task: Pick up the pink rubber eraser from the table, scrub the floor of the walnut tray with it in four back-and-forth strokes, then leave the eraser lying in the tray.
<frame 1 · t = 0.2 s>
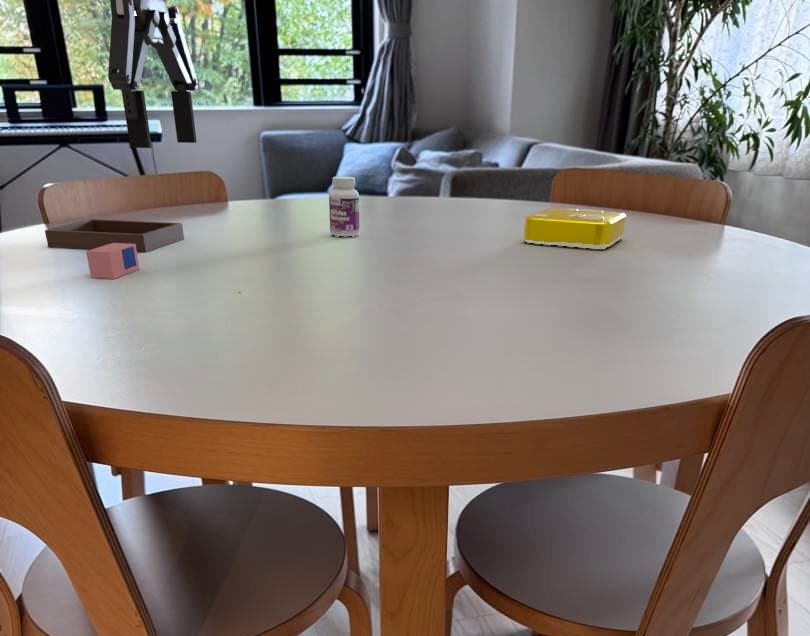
hand: (165, 145, 105), 16 cm above the table, tool pointing down, fingers open, 13 cm apart
pill bottle: (345, 236, 137), on the table
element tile: (573, 242, 134), on the table
eraser: (115, 273, 107), on the table
tray: (118, 242, 128), on the table
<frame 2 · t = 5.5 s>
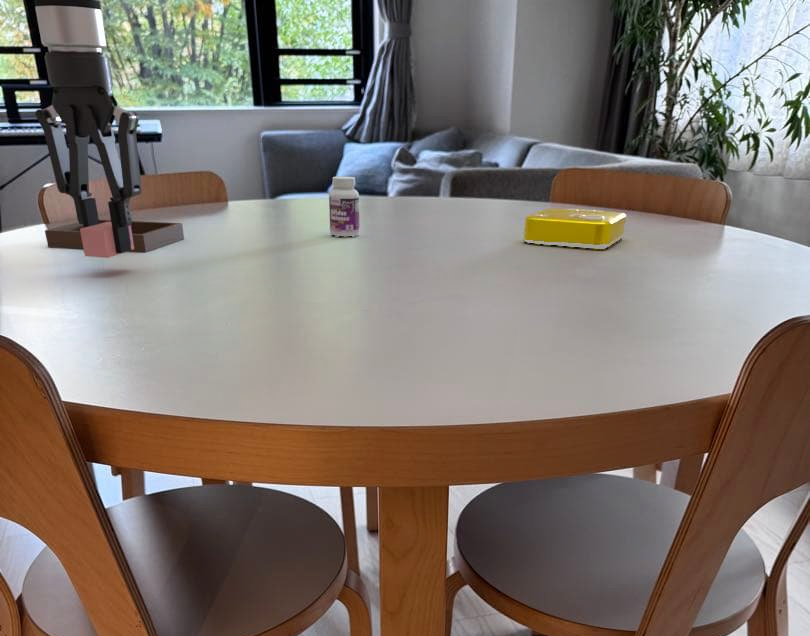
hand: (109, 250, 105), 3 cm above the table, tool pointing down, fingers closed on eraser, 4 cm apart
eraser: (110, 252, 105), point 3 cm above the table, touching gripper
everything else where it was.
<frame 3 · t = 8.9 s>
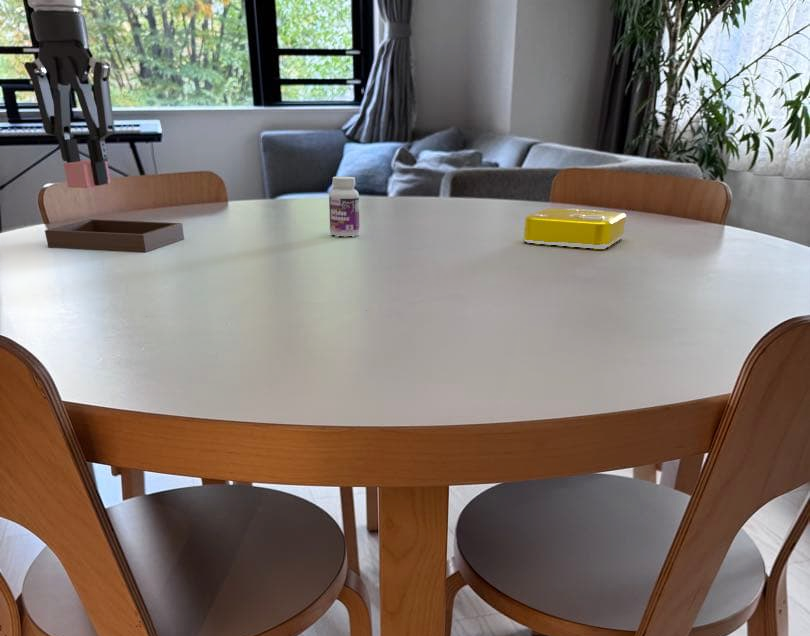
hand: (89, 183, 124), 9 cm above the table, tool pointing down, fingers closed on eraser, 4 cm apart
eraser: (90, 185, 124), point 9 cm above the table, touching gripper
everything else where it was.
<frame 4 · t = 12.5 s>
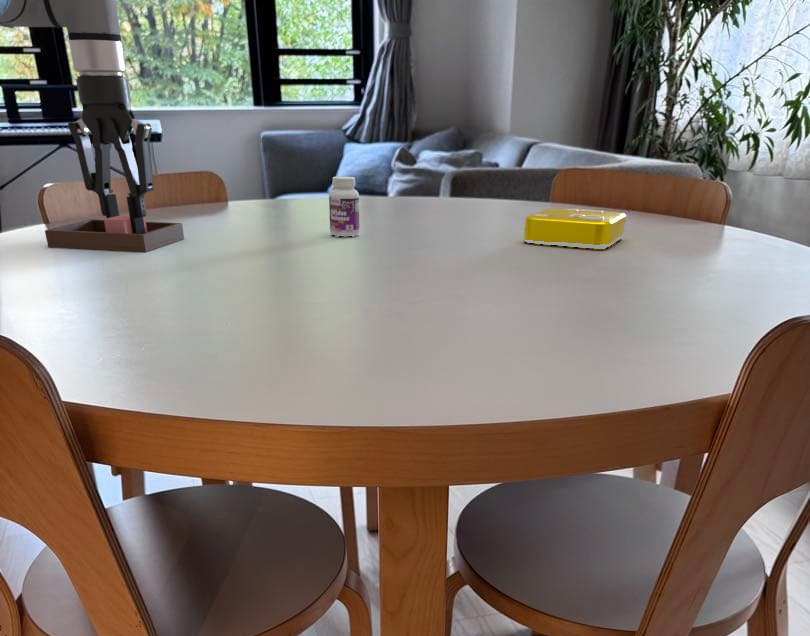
hand: (127, 237, 127), 1 cm above the table, tool pointing down, fingers closed on eraser, 4 cm apart
eraser: (128, 239, 127), point 1 cm above the table, touching gripper
everything else where it was.
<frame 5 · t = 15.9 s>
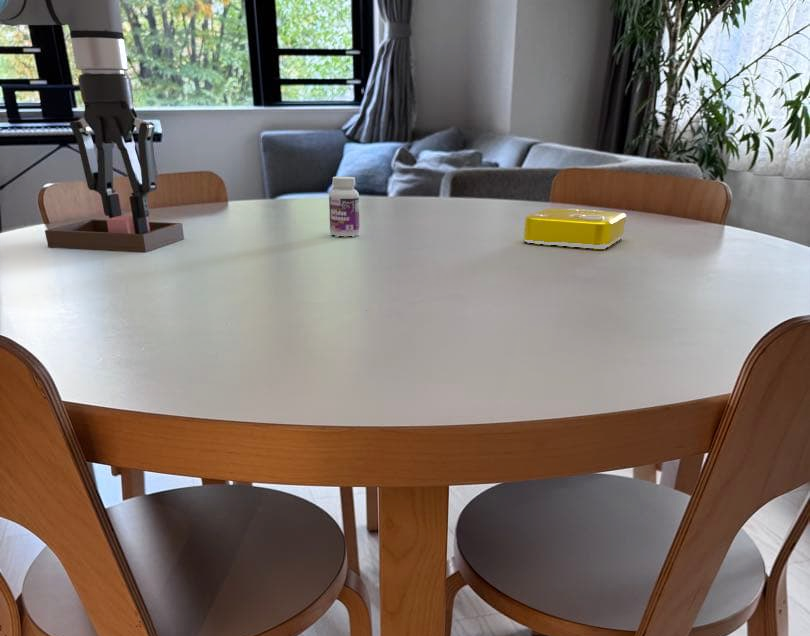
hand: (130, 237, 126), 1 cm above the table, tool pointing down, fingers closed on eraser, 4 cm apart
eraser: (131, 239, 126), point 1 cm above the table, touching gripper
everything else where it was.
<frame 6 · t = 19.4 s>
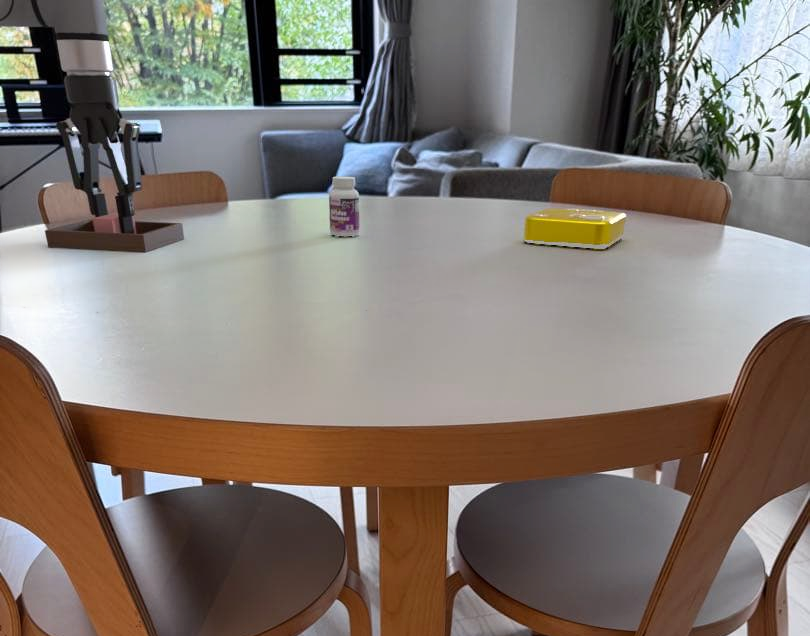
hand: (116, 236, 128), 1 cm above the table, tool pointing down, fingers closed on eraser, 4 cm apart
eraser: (117, 238, 128), point 1 cm above the table, touching gripper
everything else where it was.
when the fingers open (1 cm above the table, at t = 20.9 s): eraser stays where it is, resting on tray.
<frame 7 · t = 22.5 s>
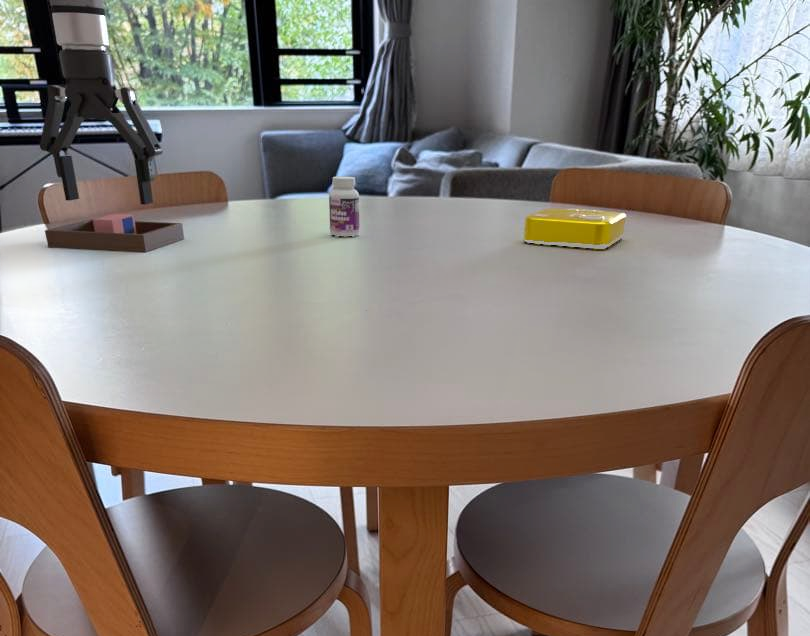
hand: (109, 201, 125), 6 cm above the table, tool pointing down, fingers open, 13 cm apart
eraser: (117, 239, 128), point 1 cm above the table, touching tray
everything else where it was.
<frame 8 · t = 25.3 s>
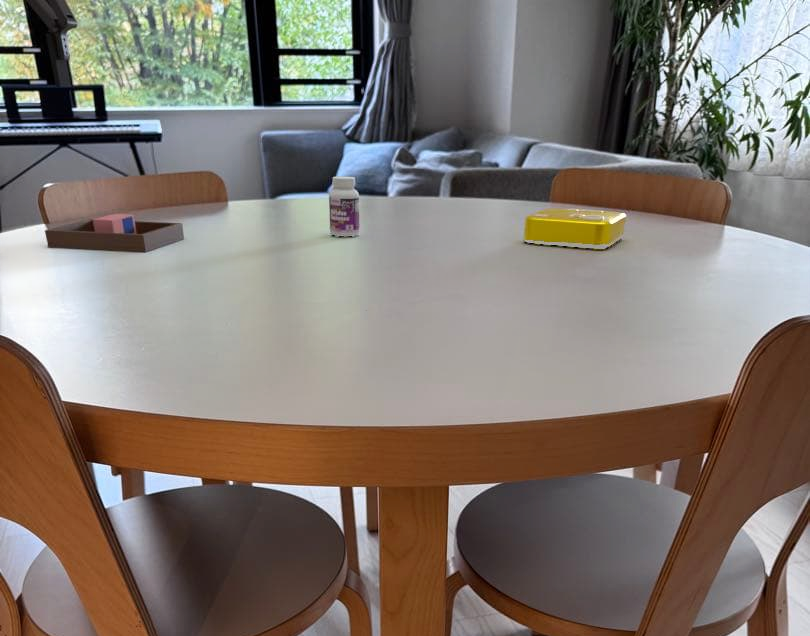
hand: (22, 86, 112), 23 cm above the table, tool pointing down, fingers open, 13 cm apart
nothing on the table moved.
at the end: eraser inside the target area in the tray (0.1 cm from its centre), point 0.6 cm above the tray's base; eraser tilted 0°; the gripper is holding nothing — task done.
